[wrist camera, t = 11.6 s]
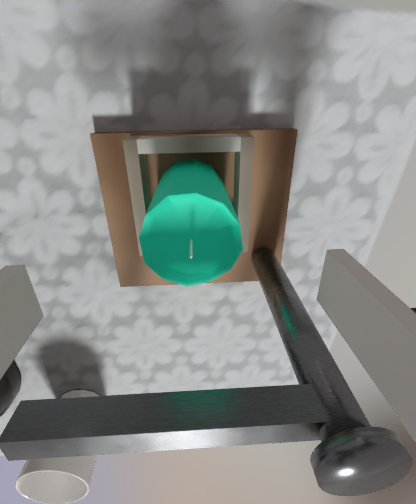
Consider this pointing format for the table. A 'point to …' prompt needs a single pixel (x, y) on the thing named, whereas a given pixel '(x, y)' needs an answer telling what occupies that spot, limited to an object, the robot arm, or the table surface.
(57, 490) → the white cup
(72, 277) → the table surface
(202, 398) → the bar
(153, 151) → the board
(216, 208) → the candle
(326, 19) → the table surface
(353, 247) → the table surface
